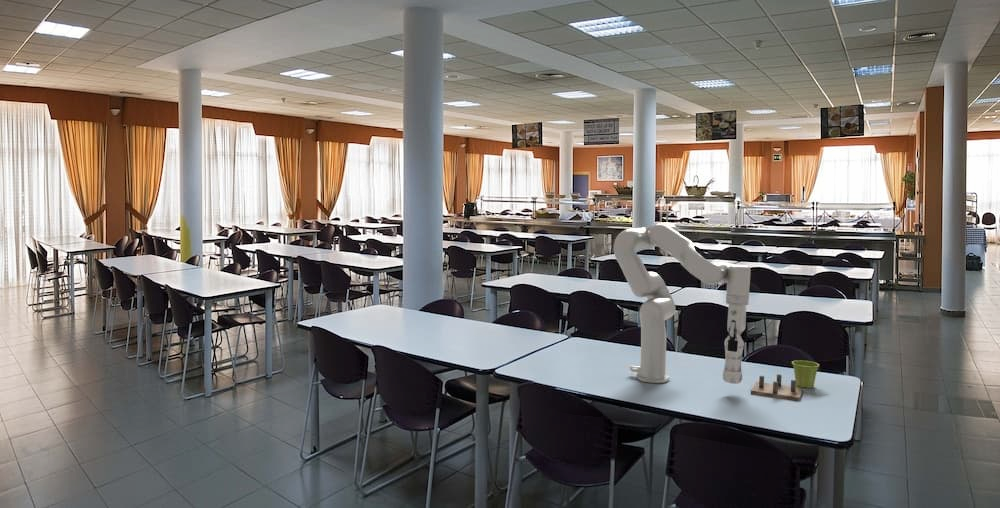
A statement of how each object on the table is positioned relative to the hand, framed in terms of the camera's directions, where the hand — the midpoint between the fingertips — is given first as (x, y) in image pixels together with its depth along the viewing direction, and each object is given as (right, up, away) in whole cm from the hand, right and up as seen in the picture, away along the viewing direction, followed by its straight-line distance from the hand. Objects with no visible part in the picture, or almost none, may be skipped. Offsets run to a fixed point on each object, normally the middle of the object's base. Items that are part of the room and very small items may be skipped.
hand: (734, 348), depth 227 cm
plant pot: (+31, -16, +11) cm, 36 cm away
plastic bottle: (0, -13, +1) cm, 13 cm away
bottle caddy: (+17, -16, +3) cm, 24 cm away
